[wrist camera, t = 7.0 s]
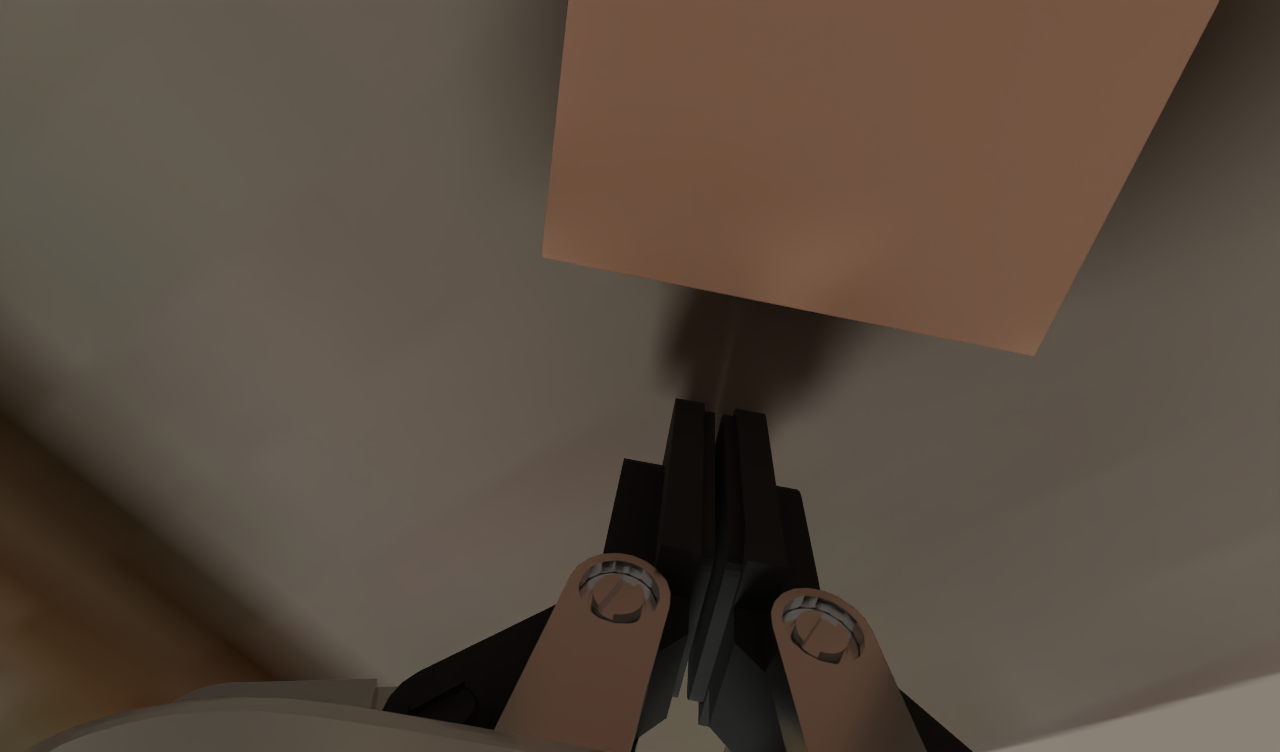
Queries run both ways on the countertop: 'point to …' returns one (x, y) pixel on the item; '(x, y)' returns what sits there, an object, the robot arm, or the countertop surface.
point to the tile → (859, 149)
